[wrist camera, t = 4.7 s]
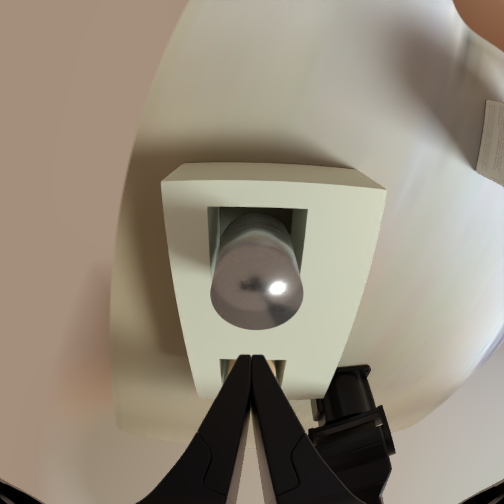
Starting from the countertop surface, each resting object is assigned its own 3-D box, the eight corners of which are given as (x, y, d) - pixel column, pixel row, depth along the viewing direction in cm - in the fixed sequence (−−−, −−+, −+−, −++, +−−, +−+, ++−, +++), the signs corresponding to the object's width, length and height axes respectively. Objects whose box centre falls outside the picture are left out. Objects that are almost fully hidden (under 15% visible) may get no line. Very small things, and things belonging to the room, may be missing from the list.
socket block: (356, 169, 17) (387, 190, 13) (316, 360, 27) (323, 398, 23) (183, 163, 17) (160, 181, 13) (204, 359, 27) (198, 397, 23)
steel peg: (294, 214, 15) (309, 257, 11) (288, 275, 17) (297, 330, 12) (220, 212, 15) (207, 255, 11) (222, 274, 17) (213, 328, 12)
